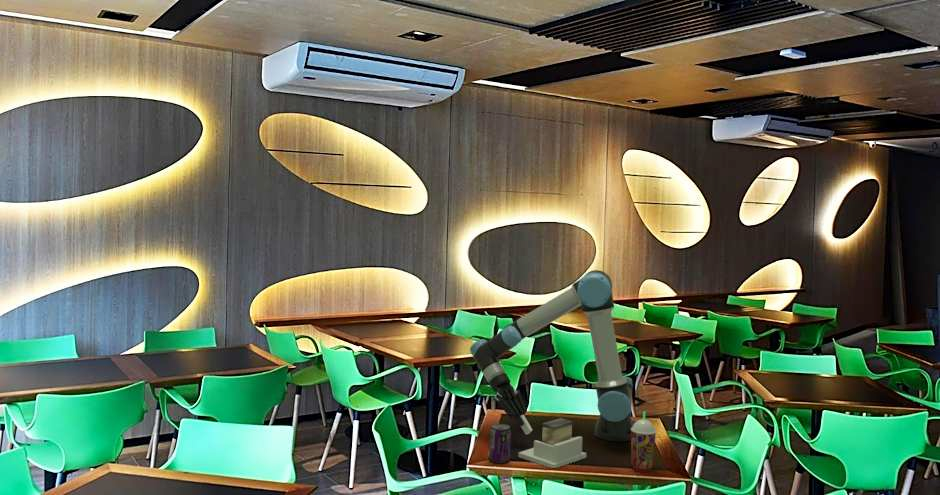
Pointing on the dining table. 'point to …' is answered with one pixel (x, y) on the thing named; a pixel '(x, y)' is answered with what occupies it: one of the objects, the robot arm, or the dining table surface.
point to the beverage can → (500, 443)
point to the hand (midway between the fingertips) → (529, 432)
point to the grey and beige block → (556, 431)
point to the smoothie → (642, 444)
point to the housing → (555, 453)
